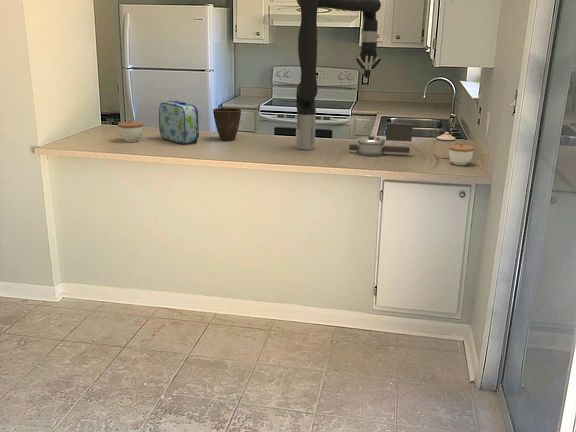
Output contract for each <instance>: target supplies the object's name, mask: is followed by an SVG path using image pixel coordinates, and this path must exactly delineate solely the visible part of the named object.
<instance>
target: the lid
mask: <svg viewBox="0 0 576 432" xmlns="http://www.w3.org/2000/svg"><path fill="white" fill-rule="evenodd" d="M413 128H414V125H413V123H401V122H398V123H397V122H387V123H386V131H385V132H386V133H385V138H384V137H379V136H373V135H371V136H360V137H357V138H356V142H360V143H366V144H381V143H385V144H386V141H393V142H396V141H397V142H412V140H413V139H412V138H413Z"/></svg>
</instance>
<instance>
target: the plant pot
mask: <svg viewBox="0 0 576 432" xmlns="http://www.w3.org/2000/svg"><path fill="white" fill-rule="evenodd" d="M212 114H213V119H214V122H215V126H216V131H217V133H218V136H219V139H220V140H221V141H222V142H223V141H225V142H229V141H230V142H231V141H235V140H236V137H237V133H238V130H239V127H240V123H241V117H242V115H241V114H242V109H241V108H236V107H235V108H234V107H220V108H213V109H212Z"/></svg>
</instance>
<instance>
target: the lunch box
mask: <svg viewBox="0 0 576 432" xmlns="http://www.w3.org/2000/svg"><path fill="white" fill-rule="evenodd" d="M158 129H159V134H160V136H161V138H162V139H164V140H166V141H171V142H174V143H178V144H182V145H183V144H196V143H197V142H198V140H199V138H200V130H199V129H200V127H199V111H198V107H197V106H195V105H194V104H191V103H187V102H182V101H179V100H167V101H162V102H161V103H159V109H158Z"/></svg>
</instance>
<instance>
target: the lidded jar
mask: <svg viewBox="0 0 576 432" xmlns="http://www.w3.org/2000/svg"><path fill="white" fill-rule="evenodd" d="M473 154H474V147H473V146H471V145H465V144H463V142H462V143H460V144H455V145H451V146H449V158H448V159H449V160H450V162H452V164H453V165H455V166H467V164H469V163H470V161H471V160H472V158H473Z"/></svg>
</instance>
